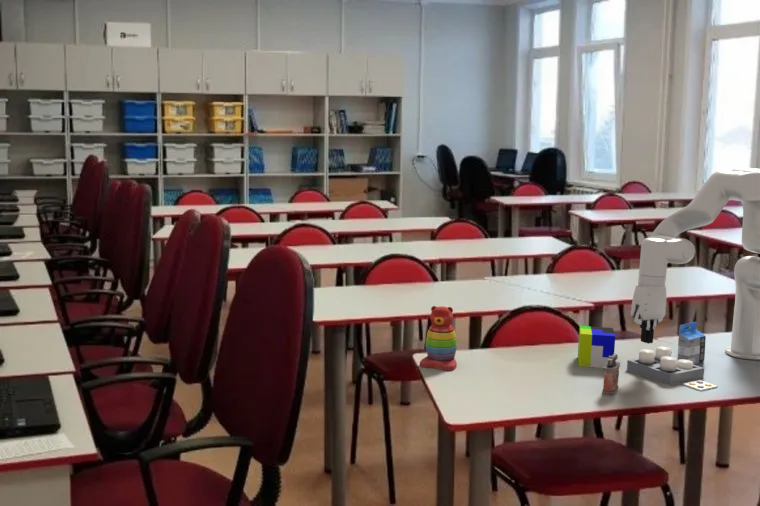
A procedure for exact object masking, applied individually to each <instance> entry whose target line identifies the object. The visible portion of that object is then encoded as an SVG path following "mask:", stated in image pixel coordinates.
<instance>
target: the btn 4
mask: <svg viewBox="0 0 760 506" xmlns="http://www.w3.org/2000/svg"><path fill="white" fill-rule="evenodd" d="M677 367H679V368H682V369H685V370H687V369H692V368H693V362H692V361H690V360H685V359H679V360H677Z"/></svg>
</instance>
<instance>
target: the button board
mask: <svg viewBox="0 0 760 506" xmlns="http://www.w3.org/2000/svg"><path fill="white" fill-rule="evenodd" d="M676 359H677V360H678V358H676ZM660 361H661V360H659V359H656V358H654V363H651V364H647V363H642V362H639V357H636V358H632V359H627V364H626V371H629V372H632V373H635V374H638V375H641V376H643V377H646V378H649V379H651V380H654V381H657V382H660V383H662V384H666V385H668V386H673V385H677V384H683V383H688V382H693V381H697V380H702V379H704V376H705V368H704V367H703V366H700V365H697V364H695V365H693V368H692V369H687V370H685V369H682V368H679V367H677V366H676V370H675V371H666V370H662V369H660ZM701 378H702V379H701Z"/></svg>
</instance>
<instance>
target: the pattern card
mask: <svg viewBox="0 0 760 506" xmlns="http://www.w3.org/2000/svg"><path fill="white" fill-rule="evenodd" d="M682 386H684V387H688V388H691V389H693V390H696V391H699V392H704V391H707V390H713V389H717V388H719V387H718V385H715V384H713V383H710V382H707V381H705V380H702V379H697V380H692V381H688V382H683V383H682Z"/></svg>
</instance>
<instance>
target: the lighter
mask: <svg viewBox="0 0 760 506" xmlns="http://www.w3.org/2000/svg"><path fill="white" fill-rule="evenodd" d="M618 357H619V355H618V353H614V354H613V355H612V356H609V358H608V361H607V364H605V366H604V368H603V371H604V372H603V373H604V374H603V385H602V386H603V387H602V392H601V394H602V396H607V397H608V396H610V397H611V396H613V394H614V395H615V394H616V392H617V393H618V391H619V377H620V366H621V362H620V361H617V360H618Z"/></svg>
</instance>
